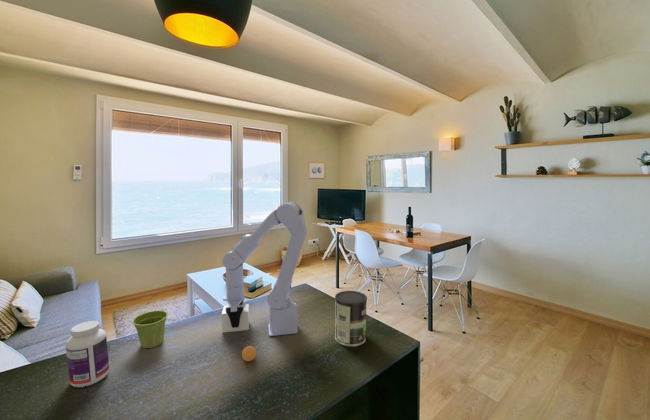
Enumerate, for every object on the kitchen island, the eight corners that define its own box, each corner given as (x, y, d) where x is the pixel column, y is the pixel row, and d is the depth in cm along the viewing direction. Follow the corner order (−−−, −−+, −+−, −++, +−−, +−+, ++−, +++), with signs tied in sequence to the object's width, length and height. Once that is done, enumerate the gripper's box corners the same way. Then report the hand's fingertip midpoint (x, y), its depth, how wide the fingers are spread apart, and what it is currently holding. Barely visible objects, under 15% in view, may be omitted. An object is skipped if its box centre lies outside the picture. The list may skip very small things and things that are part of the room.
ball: (256, 354, 85) (256, 342, 85) (256, 363, 81) (256, 350, 81) (242, 356, 84) (242, 343, 84) (241, 365, 80) (241, 351, 80)
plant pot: (142, 356, 84) (140, 328, 83) (129, 345, 90) (127, 318, 89) (174, 342, 92) (173, 316, 91) (161, 332, 97) (159, 307, 96)
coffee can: (366, 331, 99) (367, 291, 97) (365, 348, 89) (366, 304, 87) (337, 328, 101) (337, 289, 99) (332, 344, 91) (332, 301, 89)
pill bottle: (104, 364, 81) (100, 315, 79) (113, 376, 76) (109, 324, 74) (66, 379, 74) (61, 326, 73) (73, 394, 69) (67, 338, 68)
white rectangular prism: (249, 321, 105) (248, 304, 104) (248, 329, 99) (248, 311, 98) (224, 323, 103) (223, 306, 102) (222, 332, 97) (221, 314, 96)
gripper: (225, 278, 106) (226, 313, 107) (220, 293, 91) (221, 334, 93) (245, 277, 107) (246, 311, 109) (243, 292, 93) (244, 331, 95)
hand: (236, 322), depth 101 cm, fingers closed on white rectangular prism, 6 cm apart
